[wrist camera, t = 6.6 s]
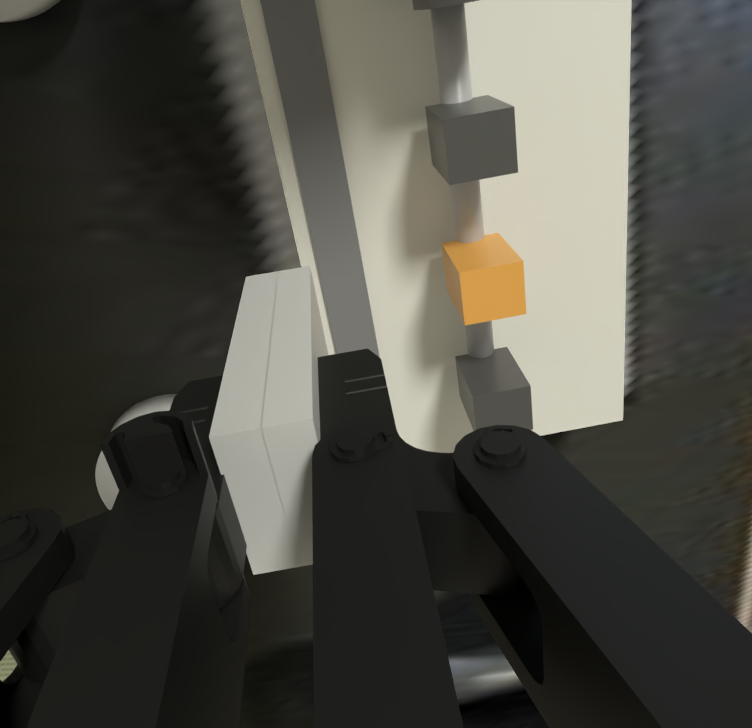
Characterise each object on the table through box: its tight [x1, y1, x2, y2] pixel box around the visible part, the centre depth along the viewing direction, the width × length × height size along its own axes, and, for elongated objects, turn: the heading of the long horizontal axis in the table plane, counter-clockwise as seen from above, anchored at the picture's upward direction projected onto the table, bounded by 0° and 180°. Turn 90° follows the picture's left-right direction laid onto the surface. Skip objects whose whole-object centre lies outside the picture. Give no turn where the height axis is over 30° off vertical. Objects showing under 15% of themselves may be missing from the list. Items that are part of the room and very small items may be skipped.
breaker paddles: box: [412, 0, 533, 431], centre depth 21 cm, size 17×2×4 cm, turn 9°
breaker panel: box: [240, 0, 631, 453], centre depth 25 cm, size 22×12×4 cm, turn 9°
